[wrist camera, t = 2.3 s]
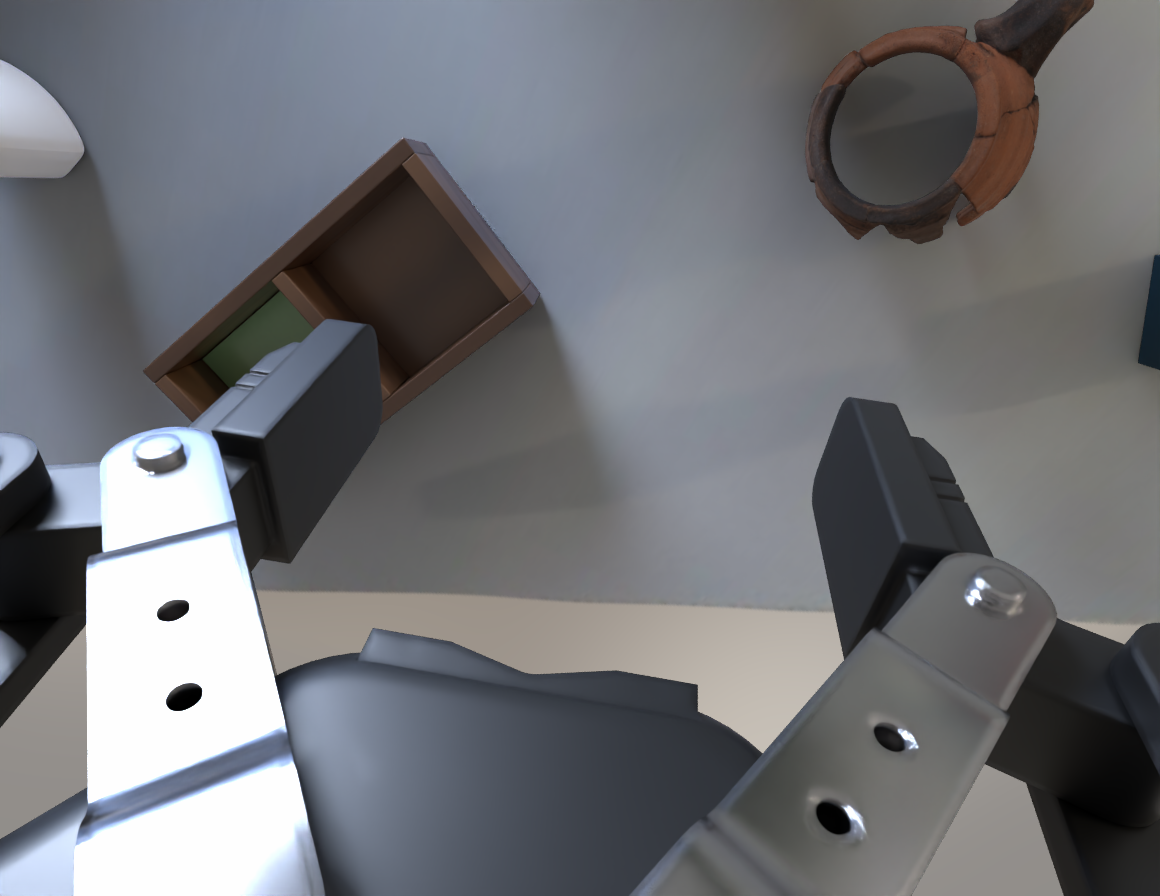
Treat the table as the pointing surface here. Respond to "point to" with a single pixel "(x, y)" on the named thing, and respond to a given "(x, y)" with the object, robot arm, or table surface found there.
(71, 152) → the eye dropper bottle
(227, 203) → the table surface
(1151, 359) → the watch
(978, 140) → the broken clay pot
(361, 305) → the brown wooden divided tray
